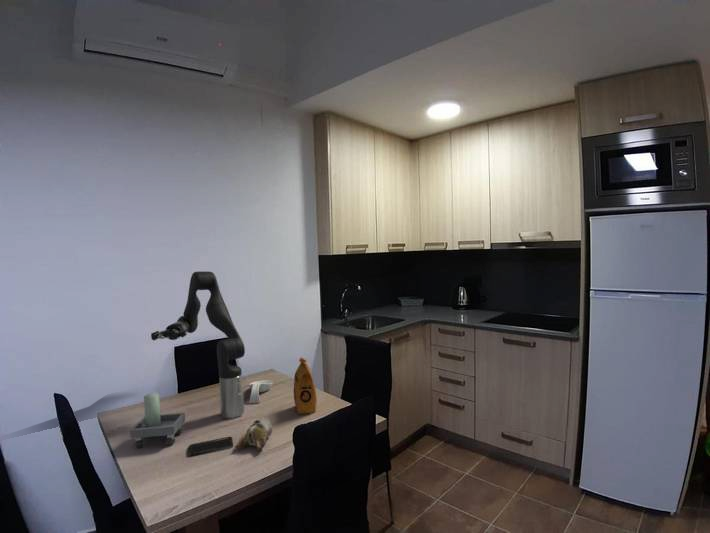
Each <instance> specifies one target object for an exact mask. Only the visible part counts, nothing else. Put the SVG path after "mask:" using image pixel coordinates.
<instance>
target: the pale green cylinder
mask: <svg viewBox="0 0 710 533" xmlns="http://www.w3.org/2000/svg"><path fill="white" fill-rule="evenodd" d="M143 401H144V403H143V404H144V416H145V422H146V428H149V427H160V426H161V419H160V415H161V407H160V406H161V405H160V393H158V392H152V393H149V394H146V395H144V396H143Z"/></svg>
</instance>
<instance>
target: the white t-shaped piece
mask: <svg viewBox="0 0 710 533" xmlns="http://www.w3.org/2000/svg"><path fill="white" fill-rule="evenodd" d="M273 383H274V382H273V381H272V380H265V379H264V380H257V381H253V382H251V383H249V384H248V386H249V388H250V389H251V391H250V395H249V396H250V397H249V404H259V403H260V402H261V400H260V394H261V393H265V392H267V391H268V390H269V389H271V387H272V385H273Z"/></svg>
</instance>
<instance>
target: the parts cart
mask: <svg viewBox="0 0 710 533" xmlns="http://www.w3.org/2000/svg"><path fill="white" fill-rule="evenodd" d="M160 419H161V426H160V427H149V428H146V422H145V415H144V416H143V418H141V419H140V420H139V421H138V422H137V423H136V424H135V425H134V426H133V427H132V428H131V429H130V430H129V432H130V439H135V442H134V447H136V448H137V449H139V448H142V447H143V446H144V445H145V440H144V439H143V438H150V437H160V436H161V437H162V436H163V437H164V436H167V437H166V445H168V446H170V445H174V444H175V442H176V437H175V435H177V436H178V435H180V434H182V433H183V427H182V425H183V424H184V423H185V422H186V413H185V412H180V413H166V414H160Z"/></svg>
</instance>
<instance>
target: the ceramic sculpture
mask: <svg viewBox="0 0 710 533" xmlns="http://www.w3.org/2000/svg"><path fill="white" fill-rule="evenodd" d="M272 432H273V426H272V423H271V422H270V420H269V419H268V416H267V415H265V416H263V417H262V418H261V419H259V420H255V421H254V422H253V423H252V424H251V425H250V426H249V427H248V428H247V431H246V433H245V434H243V435H242V436H241V437H240V438H239V440H238V442H237V443H236V444H235V446H234V448H243V447H246V446H247V444H248V445H250V446H252V447H255V448H256V449H257V450H259V451H260V450H261V449H263V448H264V447H265V446H266V444H267V441H268V438H269V437H270V436H271V434H272Z"/></svg>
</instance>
